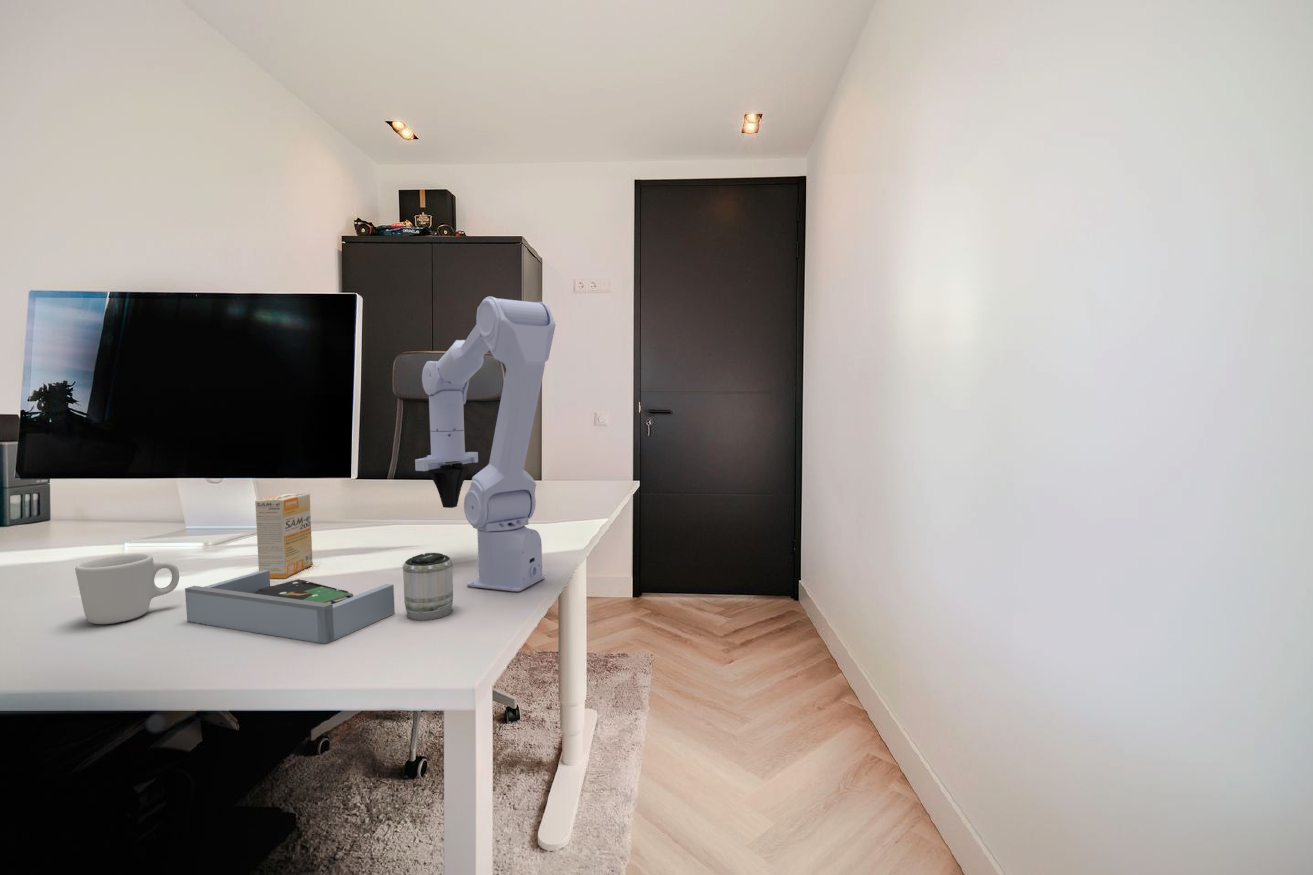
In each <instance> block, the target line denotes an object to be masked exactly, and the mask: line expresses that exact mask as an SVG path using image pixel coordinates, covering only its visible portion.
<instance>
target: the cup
mask: <svg viewBox="0 0 1313 875" xmlns="http://www.w3.org/2000/svg"><path fill="white" fill-rule="evenodd" d="M162 569H168V570H169V571H170V574H171V580H170V583H169V584H168V585H167V586H165V587H158V586H156V583H155V577H156V574H157V572H158V571H159V570H162ZM74 570H75V576H76V580H77V585H78V588H79V594H80V599H81V604H82V608H83V612H84V616H85V618H86V620H87V621H88V622H90V623H91V624H95V625H111V624H118V623H123V622H128V621H131V620H135V619H137V618H139V617H141V616H143V615H145V614H146V613H147V612H148V611H149V609H150V604H151V601H152V600H153V599H154V598H156V597H159V596H164V595H168V594H169V593H171V592H173V591H175V589H176V588H177V587H178V584H179V580H180V571H179V568H178V566H177V565H176V564H175V563H173V562H171V561H167V560H166V561H165V560H154V558H153V555H152V554H149V553H124V554H123V553H122V554H116V555H109V556H103V557H97V558H94V559H93V558H92V559H90V560H85V561H83V562H81V563H78V564H77V565H75V569H74Z"/></svg>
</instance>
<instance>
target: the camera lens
mask: <svg viewBox="0 0 1313 875" xmlns="http://www.w3.org/2000/svg"><path fill="white" fill-rule="evenodd" d="M402 572H403V573H402V574H403V575H402V576H403V577H402V578H403V595H404V597H403V599H404V601H403V603H404V607H405V611H406V613H407V617H408V618H409V619H411V620H416V621H428V620H435V619H439V618H443V617H445V616H447V615H449V614H450V613H451V612H452V606H453V604H454V603H453V602H454V601H453V600H454V584H453V583H454V581H453V580H454V578H453V575H454V574H453V560H452V559H451V558H450V556H448V555H446V554H443V553H440V552H425V553H420V554H418V555H415V556H412V557H410V558H408V559H406V561H404V563H403V565H402Z"/></svg>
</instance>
